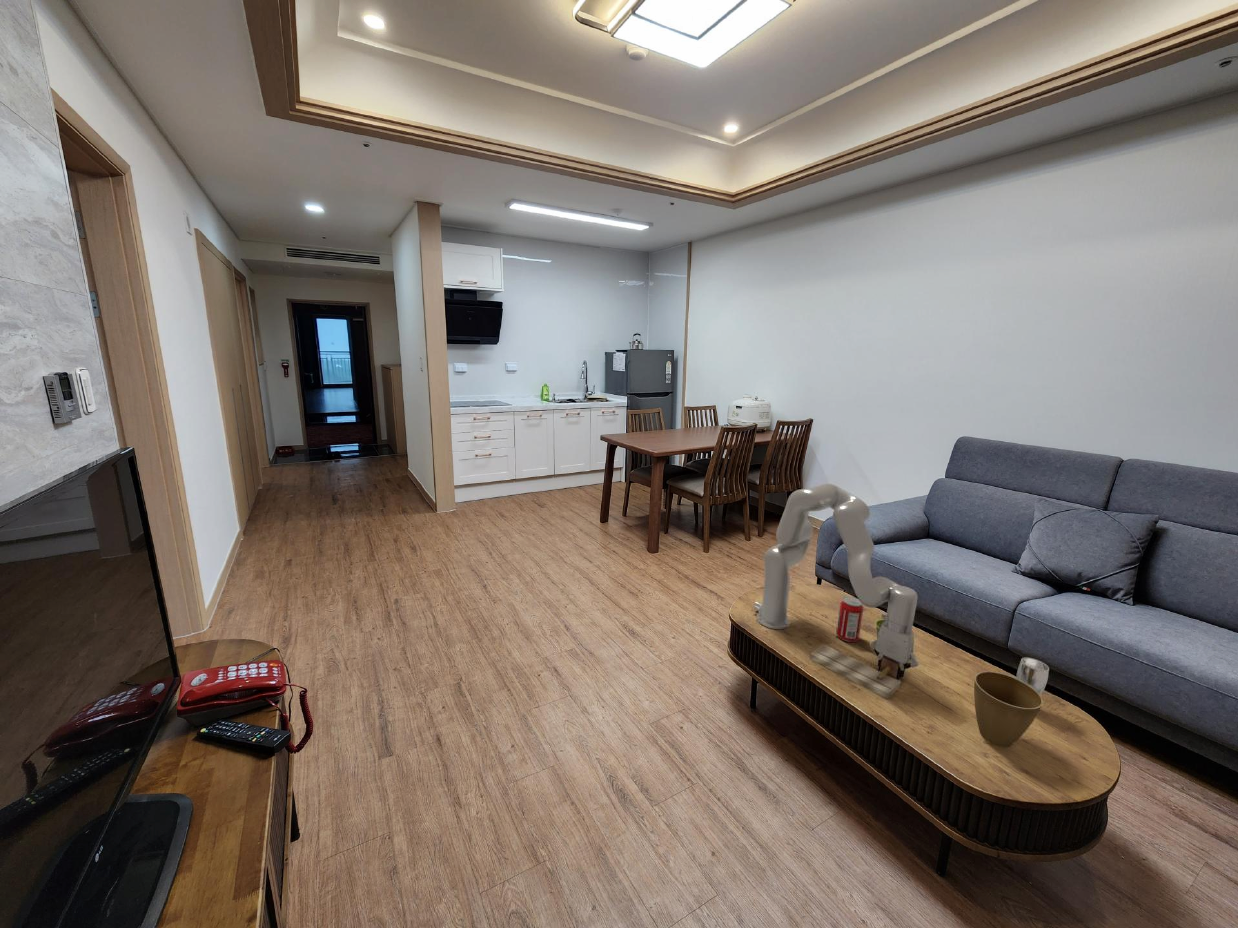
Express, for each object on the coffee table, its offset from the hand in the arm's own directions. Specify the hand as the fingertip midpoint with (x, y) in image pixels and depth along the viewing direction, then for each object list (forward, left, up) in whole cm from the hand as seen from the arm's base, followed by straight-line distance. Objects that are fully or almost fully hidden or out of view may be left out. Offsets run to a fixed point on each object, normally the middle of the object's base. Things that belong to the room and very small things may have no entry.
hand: (889, 673), depth 164 cm
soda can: (-20, +12, -2) cm, 23 cm away
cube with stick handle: (0, -4, -1) cm, 4 cm away
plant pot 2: (+30, -4, -2) cm, 31 cm away
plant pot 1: (-8, +17, -2) cm, 18 cm away
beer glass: (+32, +18, -2) cm, 37 cm away
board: (-9, -7, -1) cm, 11 cm away
